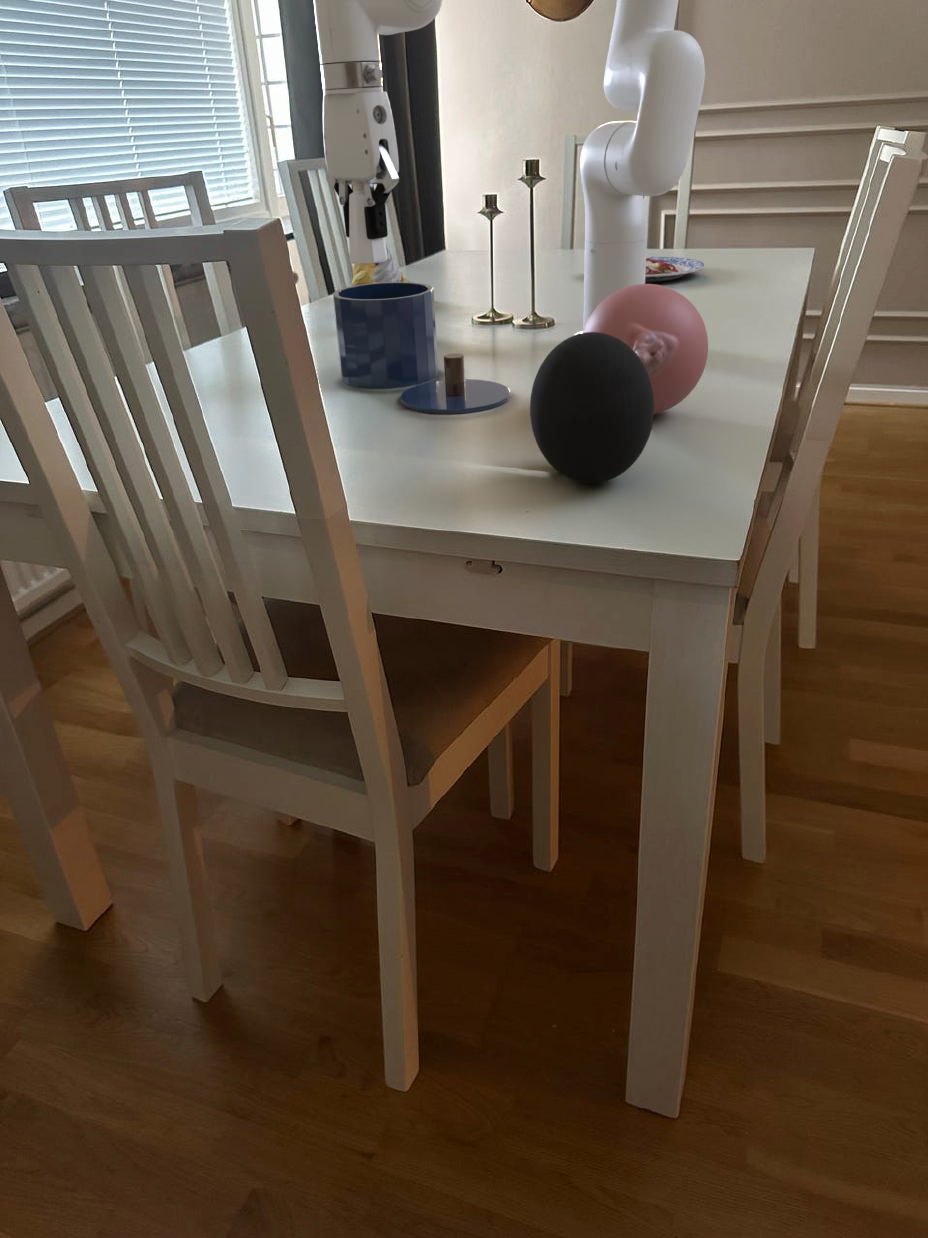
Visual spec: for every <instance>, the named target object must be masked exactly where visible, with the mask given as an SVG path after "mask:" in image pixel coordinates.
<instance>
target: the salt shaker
mask: <svg viewBox="0 0 928 1238" xmlns="http://www.w3.org/2000/svg"><path fill="white" fill-rule="evenodd" d="M352 186H353V189H352V188H351V189H352V190H353V193H351V194H350V195H349V237H348V238H349V241H348V242H349V263H350V264H353V265H354V264H375V265H376V264H379V263H380V262H385V261H386V260H387V259H388V255H387V250H386V245H387V243H386V244H385V242H386V239H385V237H384V238H378V239H368V238H367V233H366V223H365V212H364V207H367V206H368V205H367V201H366V196H365V190H364V185H363V180H352V184H351V187H352Z"/></svg>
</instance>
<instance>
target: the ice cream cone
mask: <svg viewBox="0 0 928 1238" xmlns="http://www.w3.org/2000/svg"><path fill="white" fill-rule="evenodd" d="M385 244H386V250H387V255H388V259H387V260H386V261H385V262H380V263H378V264H377V267H376V268H375V272H374V273H373V277H374V278H375V280H374V283H383V282H400V280H401V271H402V270H401V269H400V267H399V266H398V265H397V263H395V258H394V256H393V255H392V254H391V251H390V249H389V247H388V245H387V242H386V241H385ZM400 270H401V271H400Z"/></svg>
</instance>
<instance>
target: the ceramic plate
mask: <svg viewBox="0 0 928 1238" xmlns="http://www.w3.org/2000/svg"><path fill="white" fill-rule="evenodd" d="M705 268H706V263H705V262H703V261H701V260H698V259H693V258H687V257H677V256H657V255H656V256H646V273H645V283H656V282H667V281H673V280H676V279H680V278H682V277H684V276H686V275H687V274H692V273H696V272H699V271H702V270H703V269H705Z"/></svg>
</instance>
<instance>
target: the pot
mask: <svg viewBox="0 0 928 1238" xmlns="http://www.w3.org/2000/svg"><path fill="white" fill-rule="evenodd" d="M434 292H435V291H434V287H433V286H432V285H431V284H427V283H421V282H412V281H411V282H410V281H409V282H383V283H371V284H363V285H356V286H351V285H350V286H347V287H343V288H340V289H337V290H335V291H334V292H332V300H333V310H334V318H335V328H336V337H337V348H338V356H339V365H340V375H341V381H342V383H344V384H346V385H347V386H350V387H354V388H358V389H367V390H368V389H370V390H391V389H400V388H407V387H414V386H418V385H421V384H425V383H429V382H431V381H432V380H434V379H435V378H437V376H438V375H439V364H438V363H439V362H438V346H437V344H438V343H437V329H436V312H435V310H436V309H435V308H436V307H435V293H434Z"/></svg>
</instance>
